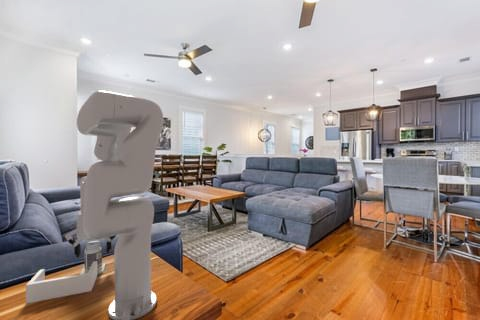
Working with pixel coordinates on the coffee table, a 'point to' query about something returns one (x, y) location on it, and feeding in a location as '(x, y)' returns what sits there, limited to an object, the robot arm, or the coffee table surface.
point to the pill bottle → (92, 255)
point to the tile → (97, 270)
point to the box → (59, 285)
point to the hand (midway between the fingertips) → (93, 253)
